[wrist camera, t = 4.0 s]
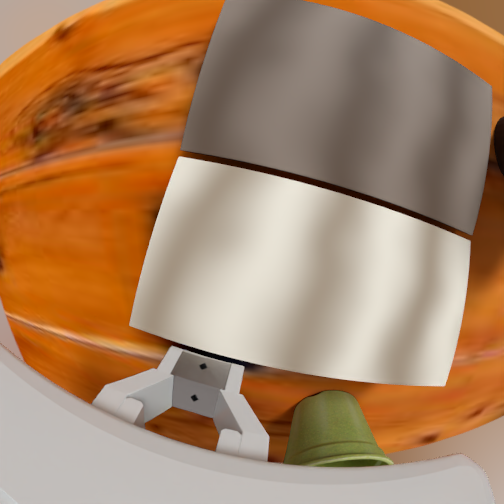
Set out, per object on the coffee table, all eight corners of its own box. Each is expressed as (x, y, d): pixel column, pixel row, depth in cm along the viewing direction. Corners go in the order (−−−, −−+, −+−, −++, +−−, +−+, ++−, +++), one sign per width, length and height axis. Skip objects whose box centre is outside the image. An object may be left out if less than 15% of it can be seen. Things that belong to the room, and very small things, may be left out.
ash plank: (454, 245, 16) (470, 241, 14) (429, 379, 15) (444, 386, 13) (186, 170, 17) (179, 156, 15) (142, 322, 15) (129, 325, 13)
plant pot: (264, 430, 23) (256, 501, 15) (293, 366, 20) (295, 455, 12) (347, 439, 23) (356, 503, 14) (390, 380, 20) (419, 453, 12)
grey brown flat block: (478, 91, 13) (491, 86, 11) (457, 229, 16) (472, 235, 14) (233, 6, 13) (228, -9, 11) (190, 152, 17) (180, 149, 15)
